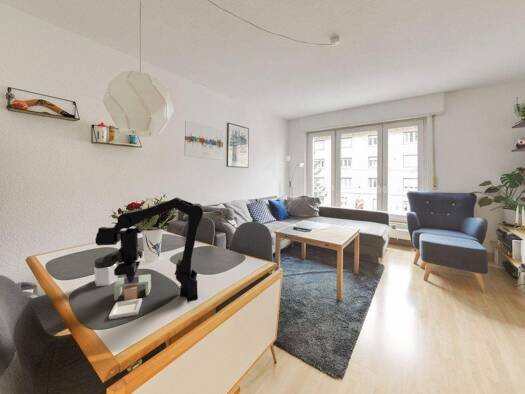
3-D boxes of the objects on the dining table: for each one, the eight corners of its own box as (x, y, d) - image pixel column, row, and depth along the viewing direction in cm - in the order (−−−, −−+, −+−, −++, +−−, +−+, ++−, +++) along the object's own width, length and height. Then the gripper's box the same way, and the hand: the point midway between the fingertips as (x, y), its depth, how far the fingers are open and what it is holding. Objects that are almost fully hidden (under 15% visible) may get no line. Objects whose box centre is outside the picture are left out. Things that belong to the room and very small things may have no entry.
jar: (119, 284, 100) (118, 259, 99) (97, 291, 94) (96, 264, 93) (114, 278, 106) (113, 254, 105) (93, 283, 100) (92, 258, 99)
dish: (142, 301, 85) (141, 298, 85) (137, 314, 77) (137, 311, 77) (116, 305, 82) (116, 302, 82) (109, 319, 74) (108, 315, 74)
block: (138, 295, 89) (137, 283, 89) (136, 300, 85) (135, 288, 85) (127, 296, 88) (126, 285, 87) (124, 302, 84) (124, 290, 84)
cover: (151, 287, 96) (150, 268, 95) (148, 295, 89) (148, 275, 88) (119, 291, 92) (118, 272, 91) (114, 300, 85) (113, 279, 84)
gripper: (112, 239, 90) (113, 274, 91) (95, 254, 73) (97, 298, 74) (142, 237, 94) (143, 271, 95) (133, 251, 76) (134, 293, 78)
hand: (130, 282), depth 86 cm, fingers closed
